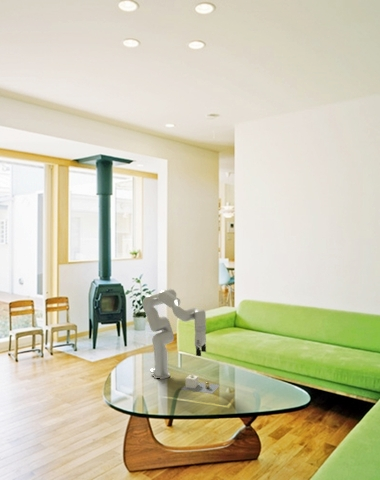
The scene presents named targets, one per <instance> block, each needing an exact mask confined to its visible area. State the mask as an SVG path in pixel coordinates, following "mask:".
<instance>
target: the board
mask: <svg viewBox="0 0 380 480" xmlns="http://www.w3.org/2000/svg"><path fill="white" fill-rule="evenodd" d="M205 383H206V382H199V385H198V386H197V387H196V388H188V387H186V384H185V385H183V387H182V388H181V390H183V391H190V392H197V393H203V394H210V395H211V394H214V392H215V391H216V390H217V389H218V388H219V387H220V386H221V385H220V384H214V383H209V385H210V388H209V389H206V384H205Z"/></svg>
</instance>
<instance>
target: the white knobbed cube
mask: <svg viewBox="0 0 380 480" xmlns="http://www.w3.org/2000/svg"><path fill="white" fill-rule="evenodd" d="M199 380H200V379H199V375H194V374H189V375H187V377H185V385H186V387H188V388H196V387H197V386H198V385H199Z"/></svg>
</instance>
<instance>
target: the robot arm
mask: <svg viewBox="0 0 380 480" xmlns="http://www.w3.org/2000/svg"><path fill="white" fill-rule="evenodd" d="M163 304H164V305H166V306H167V307H169V308H170V309H172V313H173V314H174V316H175V317H176V318H178V319H179V320H181V321H182V322H191V321H193V320H194V347H195V356H197V357H201V356H202V352H203V353H205V352H207V348H206V347H207V345H206V343H207V335H206V331H207V324H206V321H207V318H206V314H207V313H206V310H204V309H199V308H195V307H192V308H187V309H184V308H182V307H180V304H181V299H180V298H178V297H177V292H176V290H174V289H172V288H169V289H163V290H161V291H159V292H157V293H152V294H148V295H146V296H145V297H144V298H143V300H142V308H143V310H144V312H145V314H146V318H147V321H148V324H149V327H150V330H151V332H154V333H156V334H154V335H152V345H153V357H154V368H150V373H152V377H153V376H154V377H155V378H154V377H153V378H154V379H156V378H160V379H159V380H163V379H168V378H169V377H170V376H171V373H170V372H169V368H168V367H169V366H168V361H169V360H168V350H167V347H166V345H168V344H171V343H172V342H173V341H174V339H175V338H174V337H175V336H174V332H173V328H172V326H171V323H170V320H169V319H168V318H167V316H159V312H158V310H157V308H155V306H160V305H163ZM160 331H161V332H160ZM157 332H158V333H157Z"/></svg>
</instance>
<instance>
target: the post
mask: <svg viewBox="0 0 380 480" xmlns="http://www.w3.org/2000/svg"><path fill="white" fill-rule="evenodd" d="M204 383H205V384H206V389H209V388H210V385H209V384H210V382H209V381H208V380H207V381H206V382H204Z"/></svg>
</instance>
